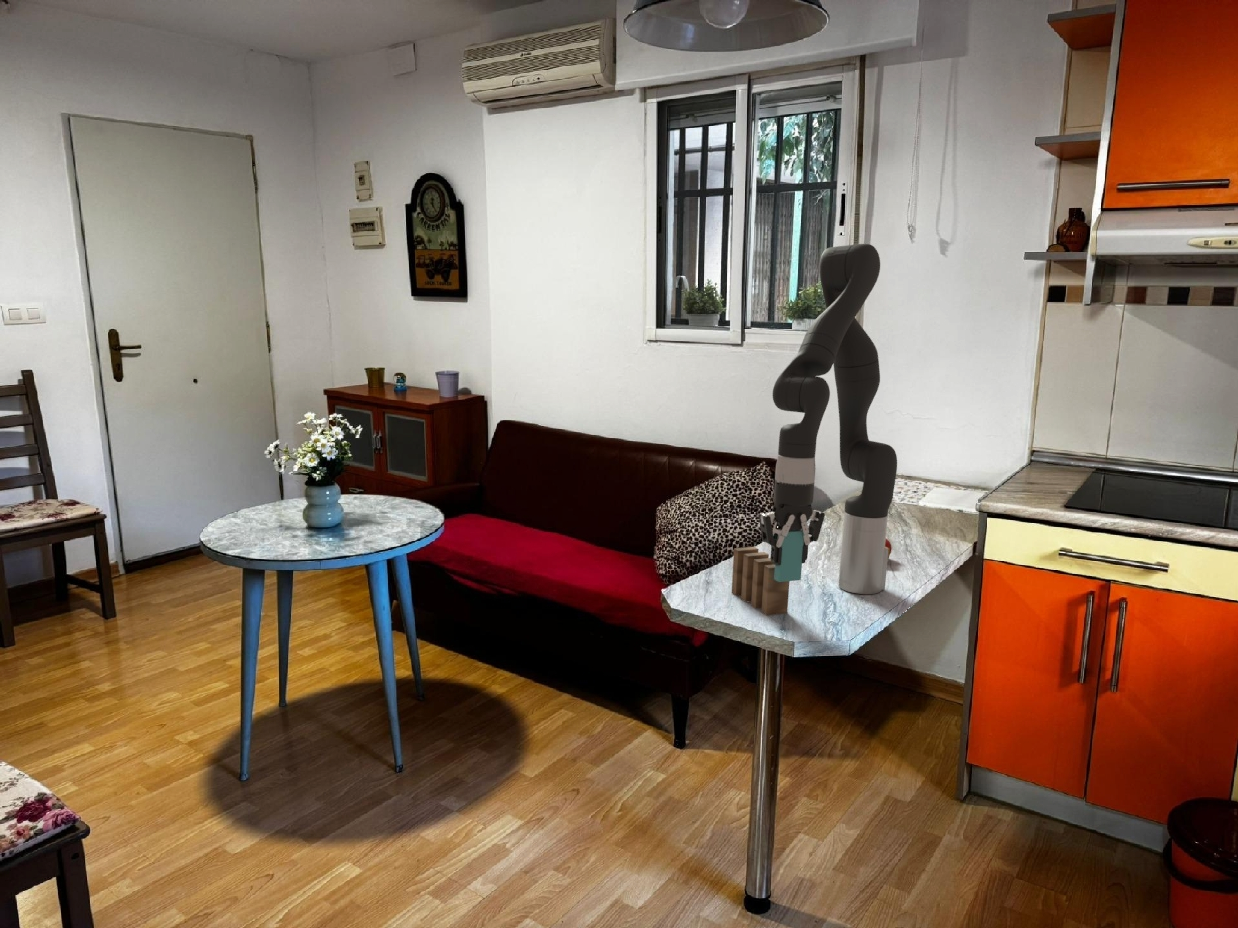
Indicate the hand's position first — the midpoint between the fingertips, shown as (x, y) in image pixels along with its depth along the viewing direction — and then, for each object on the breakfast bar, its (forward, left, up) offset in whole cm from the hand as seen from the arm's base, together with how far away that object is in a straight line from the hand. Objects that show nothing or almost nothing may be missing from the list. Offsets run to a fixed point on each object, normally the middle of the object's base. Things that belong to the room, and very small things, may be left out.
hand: (788, 562), depth 168 cm
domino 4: (0, -4, -12) cm, 12 cm away
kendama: (-41, -27, -12) cm, 50 cm away
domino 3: (0, -8, -12) cm, 14 cm away
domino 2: (0, -13, -12) cm, 17 cm away
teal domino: (0, 0, -3) cm, 3 cm away
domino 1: (0, -17, -12) cm, 20 cm away
